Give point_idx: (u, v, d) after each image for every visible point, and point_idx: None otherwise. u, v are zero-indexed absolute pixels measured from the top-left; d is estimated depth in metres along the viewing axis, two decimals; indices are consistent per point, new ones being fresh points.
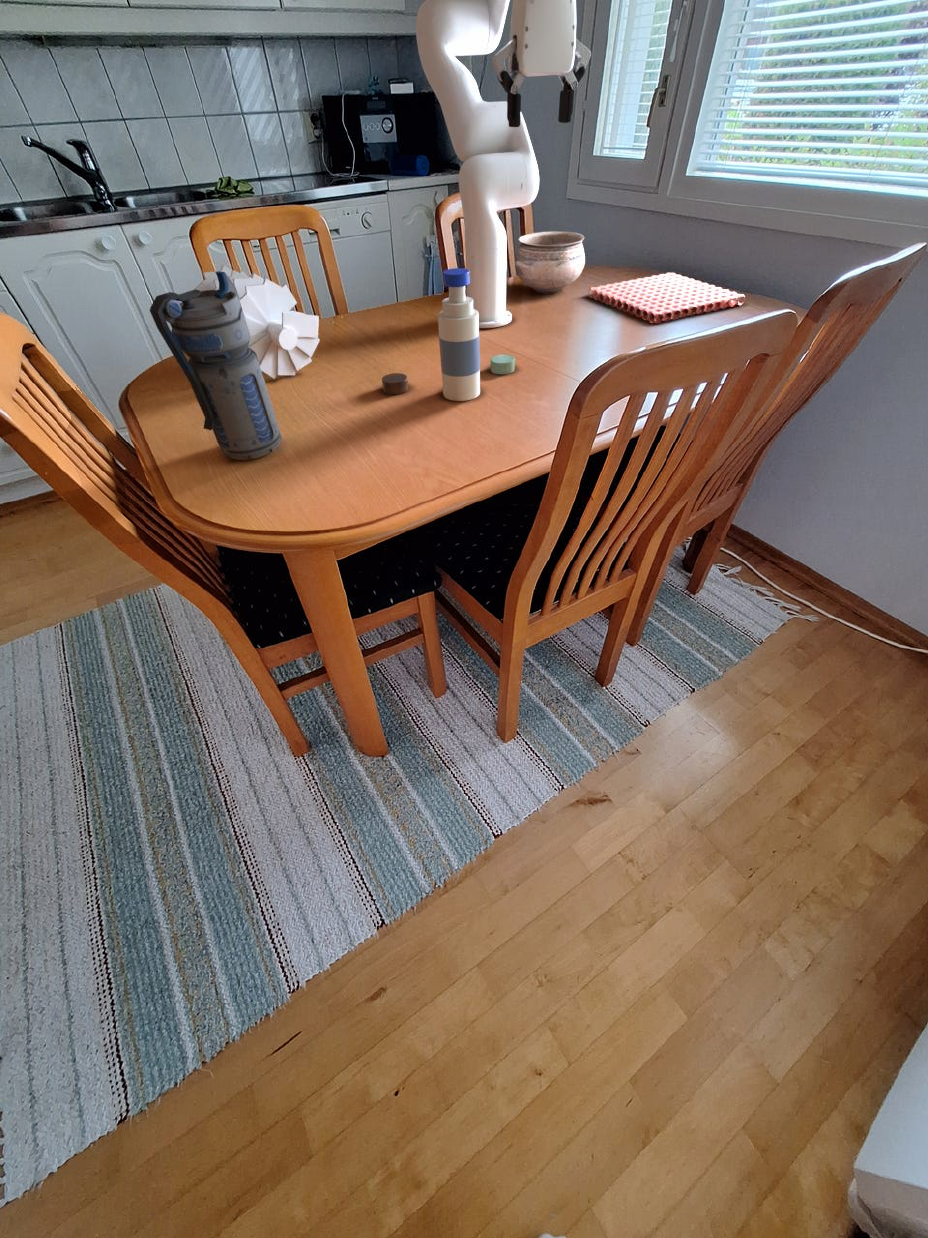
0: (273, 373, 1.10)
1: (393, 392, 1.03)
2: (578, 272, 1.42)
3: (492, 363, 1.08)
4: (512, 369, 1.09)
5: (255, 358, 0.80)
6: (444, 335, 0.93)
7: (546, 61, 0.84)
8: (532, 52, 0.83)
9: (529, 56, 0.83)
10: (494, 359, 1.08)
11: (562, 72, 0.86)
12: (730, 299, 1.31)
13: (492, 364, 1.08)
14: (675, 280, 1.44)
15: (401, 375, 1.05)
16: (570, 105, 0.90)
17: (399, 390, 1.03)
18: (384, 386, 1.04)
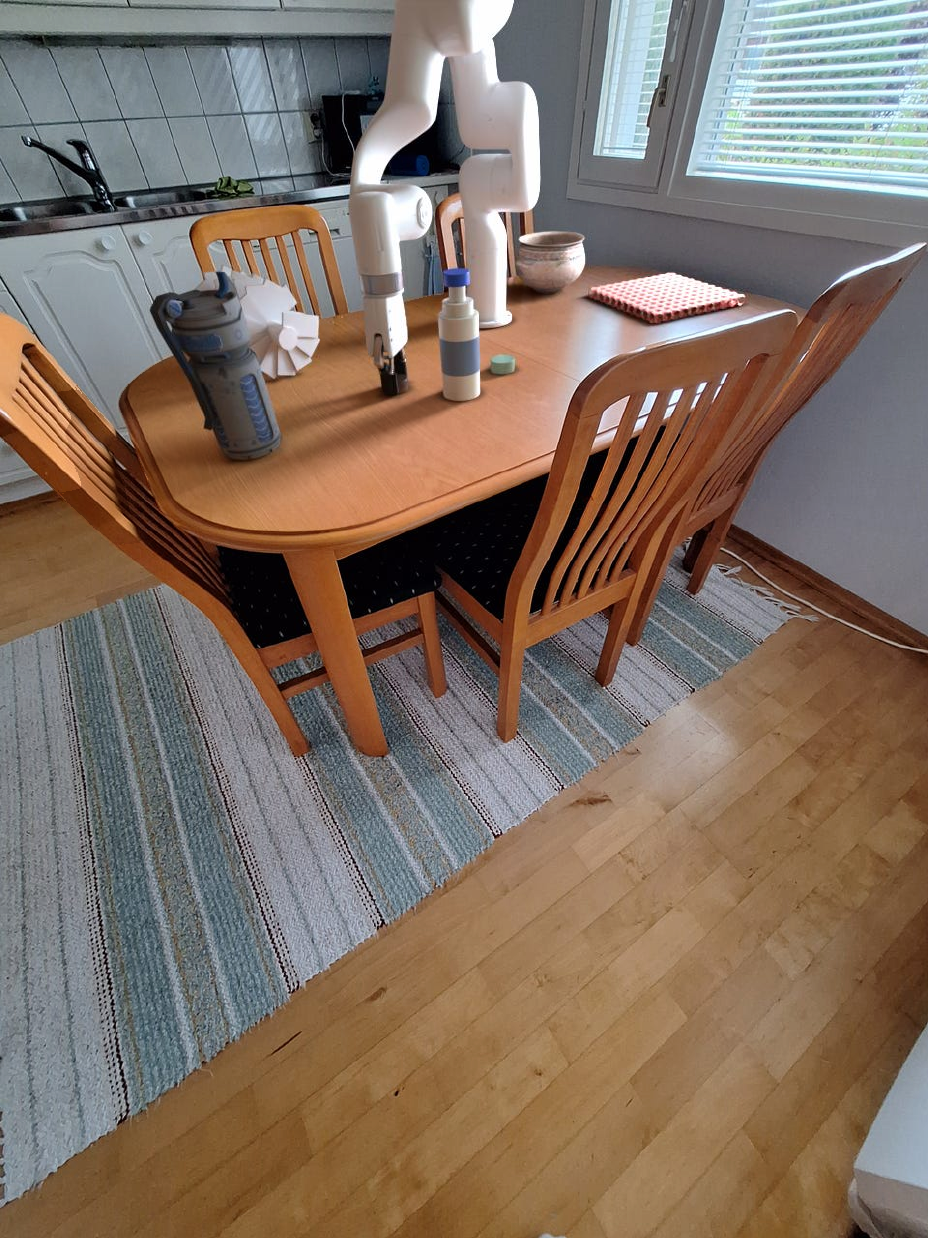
0: (273, 373, 1.10)
1: None
2: (578, 272, 1.42)
3: (492, 363, 1.08)
4: (512, 369, 1.09)
5: (255, 358, 0.80)
6: (444, 335, 0.93)
7: (398, 343, 0.99)
8: (394, 342, 0.96)
9: (393, 345, 0.96)
10: (494, 359, 1.08)
11: (404, 344, 1.02)
12: (730, 299, 1.31)
13: (492, 364, 1.08)
14: (675, 280, 1.44)
15: (401, 375, 1.05)
16: (406, 371, 1.05)
17: (399, 390, 1.03)
18: None
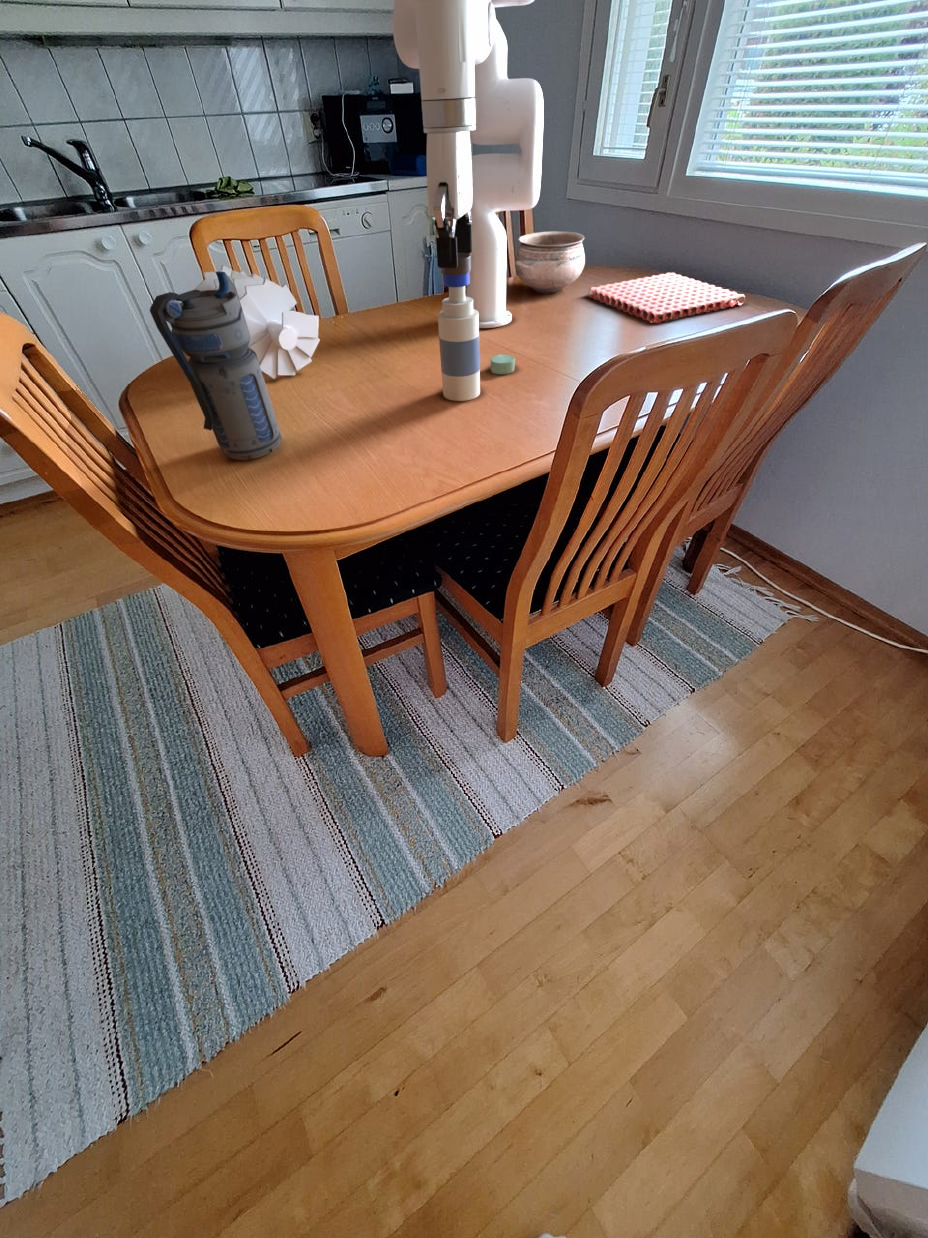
0: (273, 373, 1.10)
1: (454, 272, 0.86)
2: (578, 272, 1.42)
3: (492, 363, 1.08)
4: (512, 369, 1.09)
5: (255, 358, 0.80)
6: (444, 335, 0.93)
7: (465, 203, 0.81)
8: (462, 197, 0.79)
9: (461, 201, 0.79)
10: (494, 359, 1.08)
11: (469, 210, 0.84)
12: (730, 299, 1.31)
13: (492, 364, 1.08)
14: (675, 280, 1.44)
15: (463, 253, 0.87)
16: (471, 237, 0.89)
17: (462, 270, 0.86)
18: None
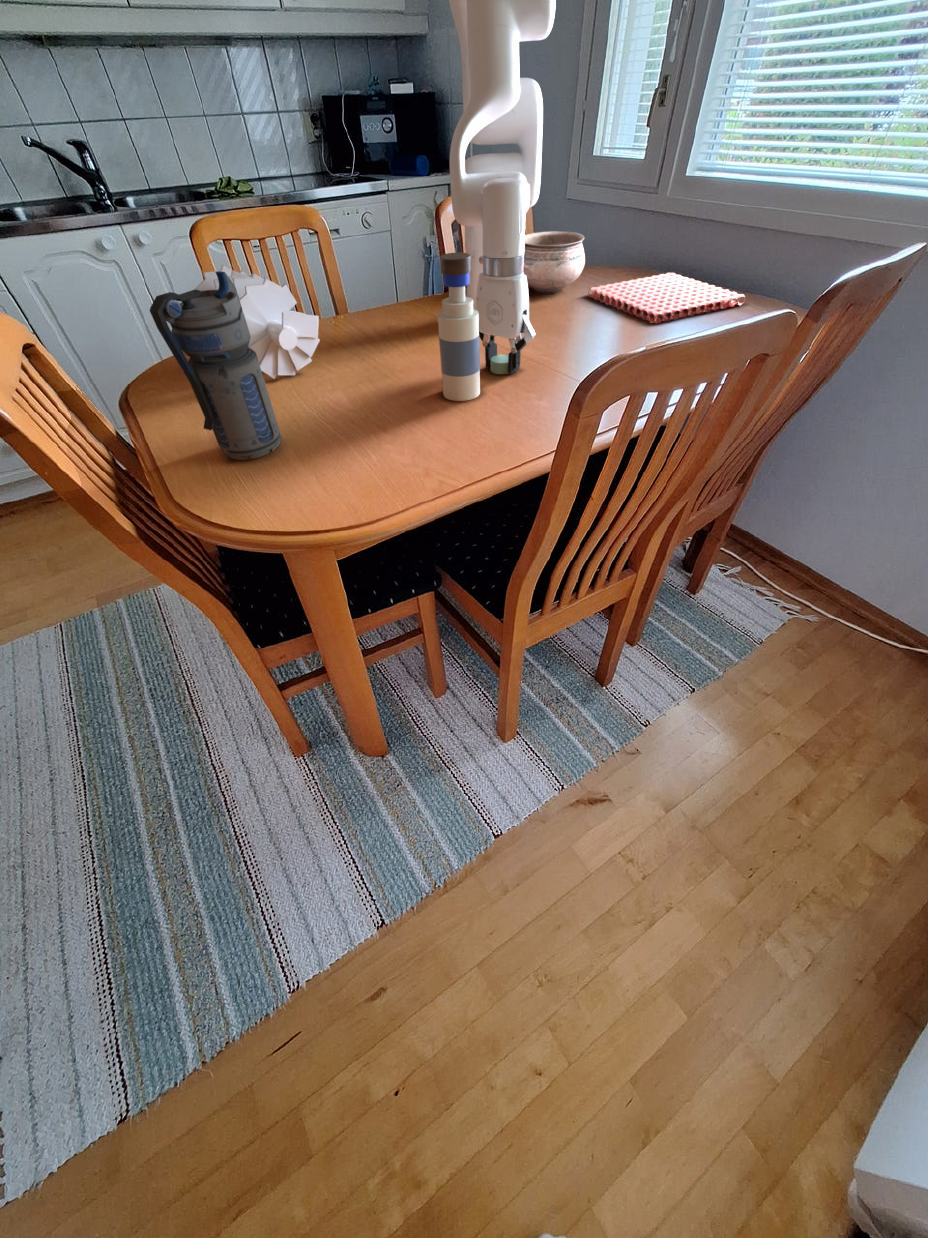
0: (273, 373, 1.10)
1: (454, 272, 0.86)
2: (578, 272, 1.42)
3: (492, 363, 1.08)
4: None
5: (255, 358, 0.80)
6: (444, 335, 0.93)
7: None
8: None
9: None
10: (494, 359, 1.08)
11: None
12: (730, 299, 1.31)
13: (492, 364, 1.08)
14: (675, 280, 1.44)
15: (463, 253, 0.87)
16: None
17: (462, 270, 0.86)
18: (443, 265, 0.86)
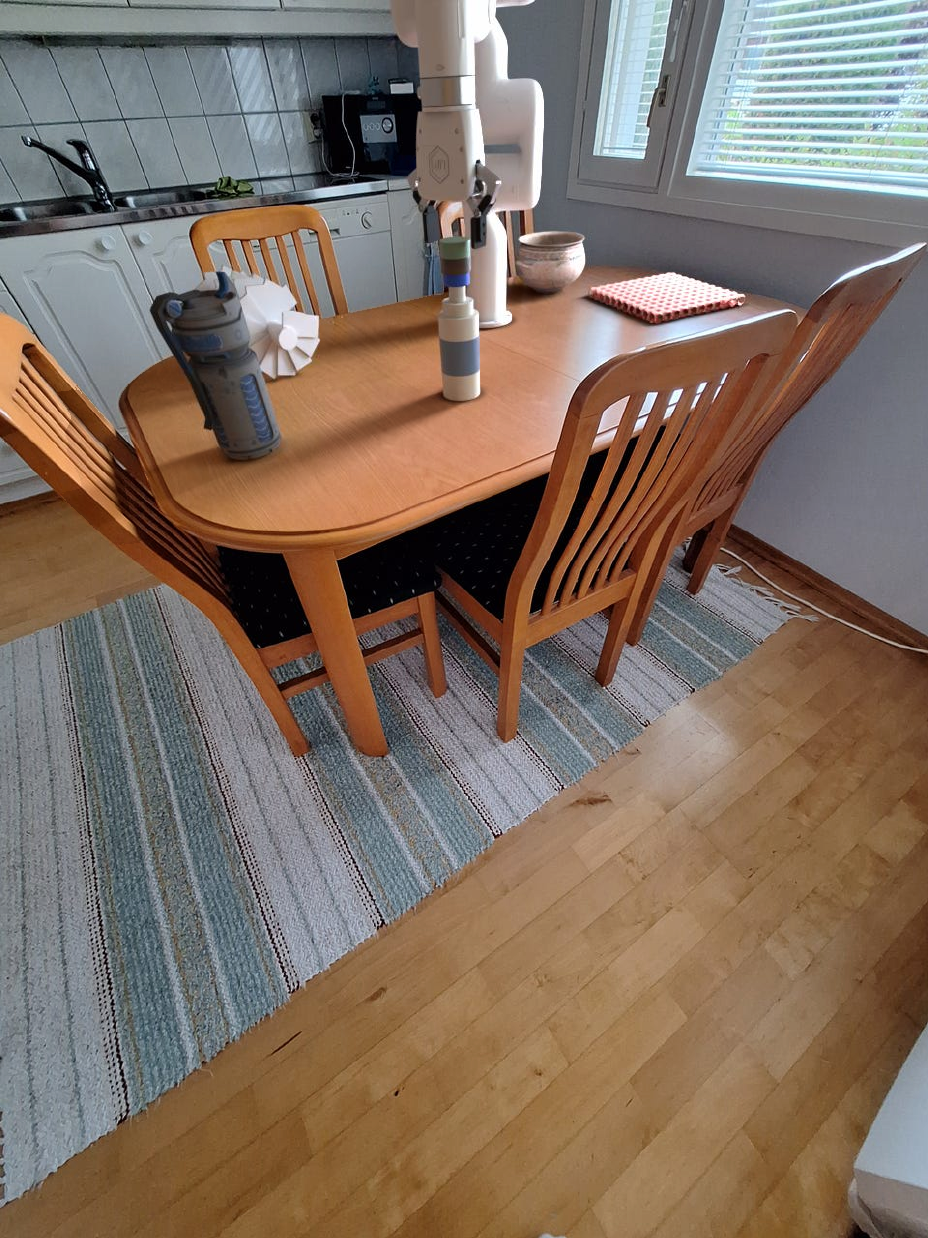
0: (273, 373, 1.10)
1: (454, 272, 0.86)
2: (578, 272, 1.42)
3: (441, 245, 0.85)
4: (467, 253, 0.85)
5: (255, 358, 0.80)
6: (444, 335, 0.93)
7: None
8: None
9: None
10: (443, 240, 0.85)
11: None
12: (730, 299, 1.31)
13: (441, 246, 0.85)
14: (675, 280, 1.44)
15: None
16: None
17: (462, 270, 0.86)
18: (443, 265, 0.86)
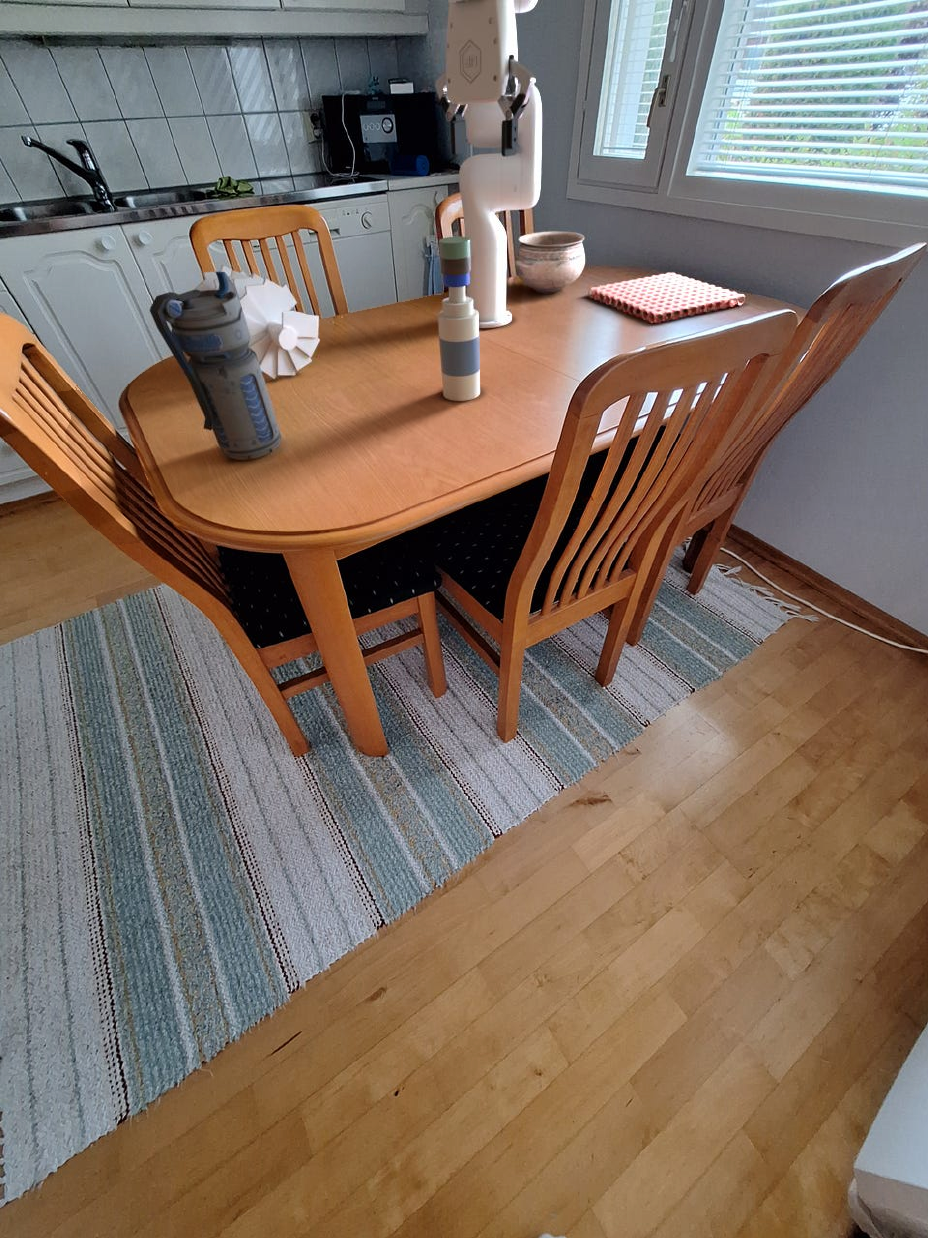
0: (273, 373, 1.10)
1: (454, 272, 0.86)
2: (578, 272, 1.42)
3: (441, 245, 0.85)
4: (467, 253, 0.85)
5: (255, 358, 0.80)
6: (444, 335, 0.93)
7: None
8: None
9: None
10: (443, 240, 0.85)
11: None
12: (730, 299, 1.31)
13: (441, 246, 0.85)
14: (675, 280, 1.44)
15: None
16: None
17: (462, 270, 0.86)
18: (443, 265, 0.86)
